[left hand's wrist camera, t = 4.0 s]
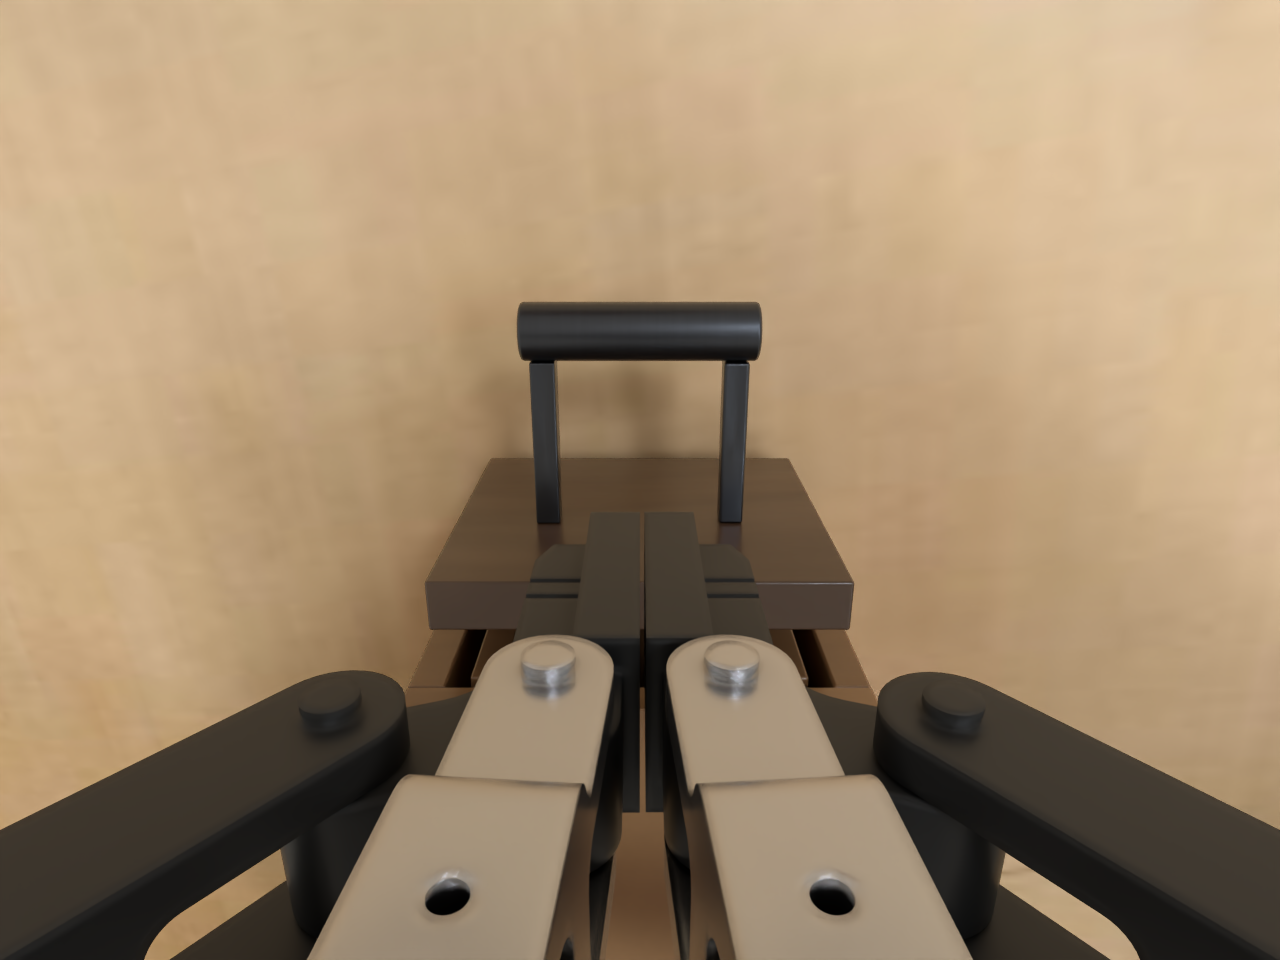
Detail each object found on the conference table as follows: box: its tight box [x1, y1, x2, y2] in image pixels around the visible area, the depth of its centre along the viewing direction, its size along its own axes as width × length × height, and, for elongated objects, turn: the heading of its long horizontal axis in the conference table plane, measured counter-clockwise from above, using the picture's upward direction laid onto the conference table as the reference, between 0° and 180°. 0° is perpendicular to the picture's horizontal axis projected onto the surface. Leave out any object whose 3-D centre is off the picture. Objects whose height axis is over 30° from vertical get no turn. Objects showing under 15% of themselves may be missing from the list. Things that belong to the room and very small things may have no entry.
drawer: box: [425, 302, 854, 688], centre depth 24 cm, size 25×9×8 cm, turn 0°
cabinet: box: [405, 630, 878, 960], centre depth 26 cm, size 21×10×10 cm, turn 0°
